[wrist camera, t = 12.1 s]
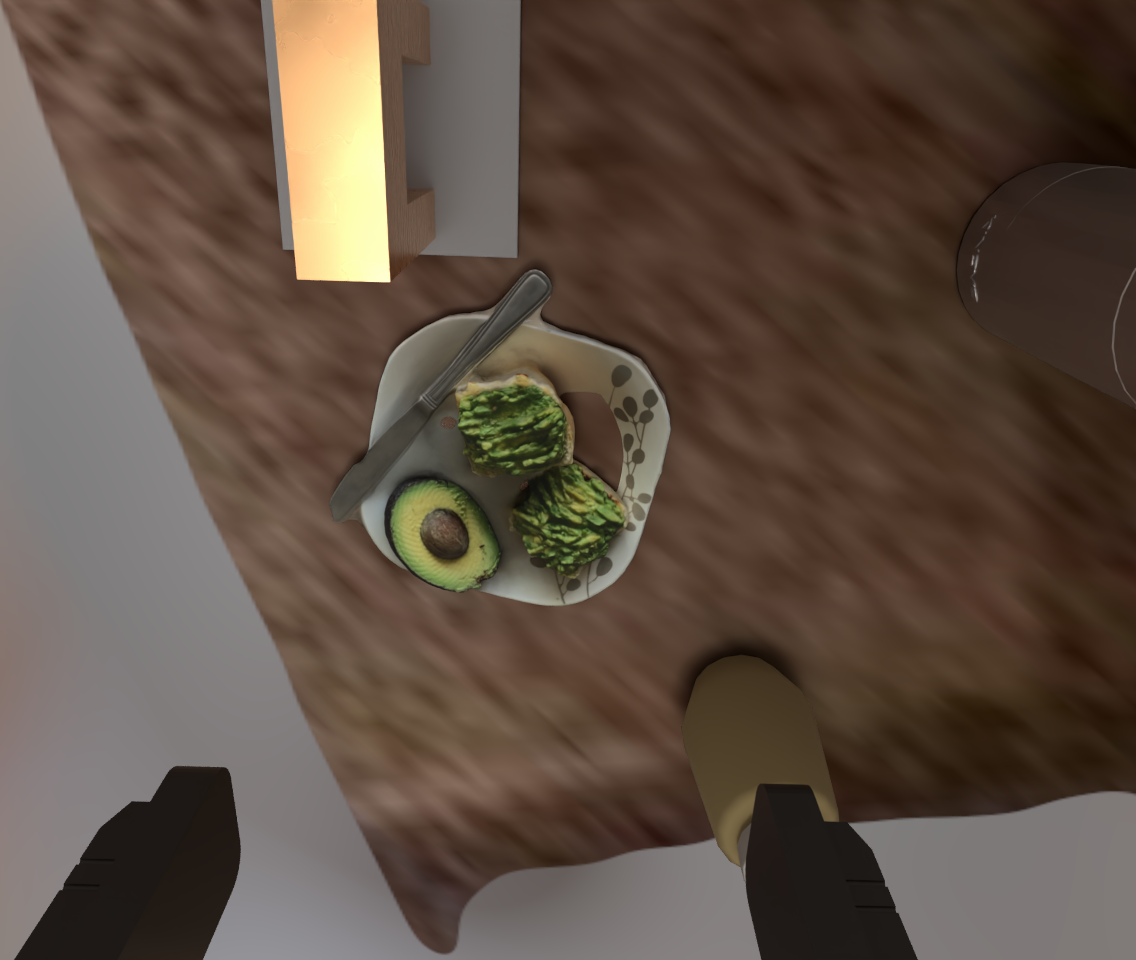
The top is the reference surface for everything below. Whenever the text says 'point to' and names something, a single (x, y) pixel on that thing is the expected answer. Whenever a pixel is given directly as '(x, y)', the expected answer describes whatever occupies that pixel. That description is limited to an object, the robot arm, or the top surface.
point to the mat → (449, 126)
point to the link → (351, 135)
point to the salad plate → (505, 456)
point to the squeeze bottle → (750, 745)
